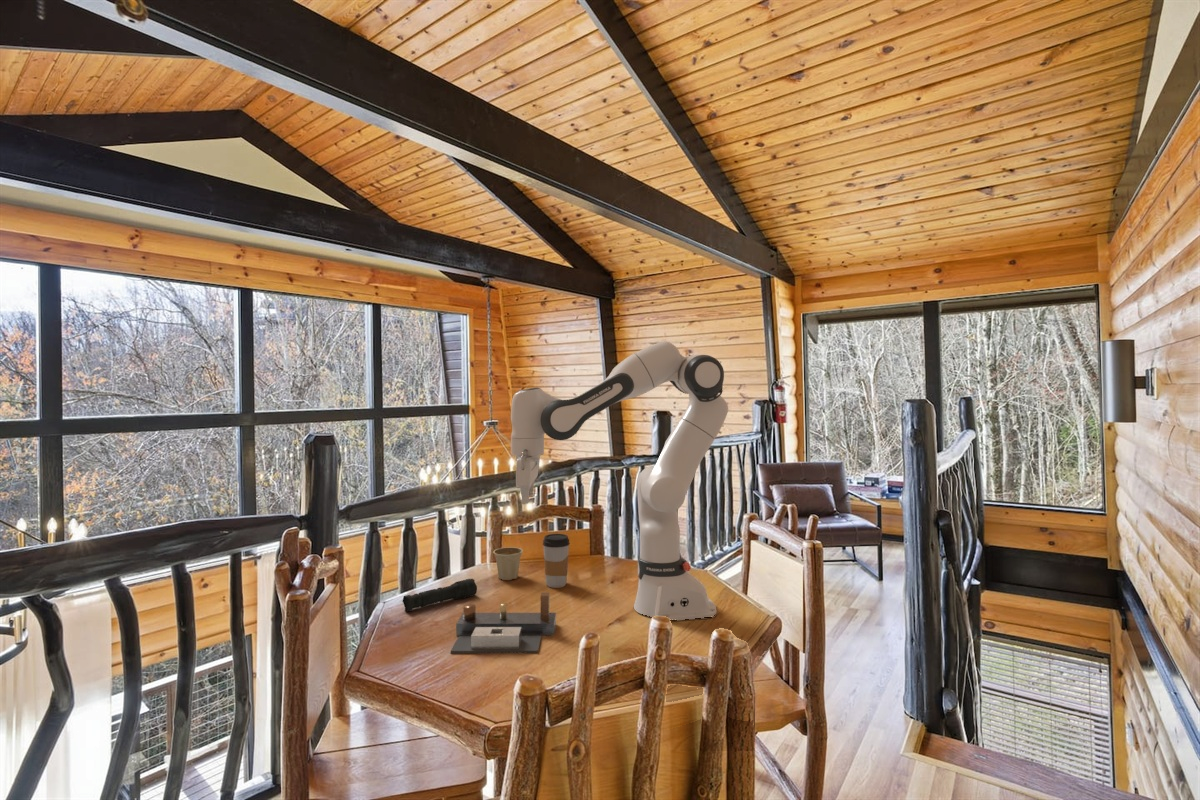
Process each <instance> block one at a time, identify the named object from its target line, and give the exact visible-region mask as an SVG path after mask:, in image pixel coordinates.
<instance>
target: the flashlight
mask: <svg viewBox="0 0 1200 800" xmlns="http://www.w3.org/2000/svg"><path fill="white" fill-rule="evenodd" d="M477 592H478V586H477V584H476V581H475V579H474V578H467V579H463V580H458V581H455V582H454V583H452V584H450V585H448V586H444V587H437V588H434V589H433V588H432V589H429V590H424V591H421V592H418V593H414V594H412V595H411V594H407V595H404V596H403V599H402V603H403V605H404V612H406V613H407V612H410V611H412V610H414V609H419V608H424V607H426V606H430V605H433V604H438V603H443V602H445V601H448V600H459V599H458V598H462V599H464V597H466V598H469V597H468V596H470V597H473V596H475V595H476V594H477ZM472 595H473V596H472Z"/></svg>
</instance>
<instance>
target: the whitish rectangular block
mask: <svg viewBox="0 0 1200 800" xmlns="http://www.w3.org/2000/svg"><path fill="white" fill-rule="evenodd" d="M521 640H522V627H475V629H474V631H473V633H472V635H471V649H519V646H520V643H521Z"/></svg>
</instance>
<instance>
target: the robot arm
mask: <svg viewBox="0 0 1200 800" xmlns="http://www.w3.org/2000/svg"><path fill="white" fill-rule="evenodd" d="M724 380H725V370H724V367H723V365H722V364H721V362H720V361H719V360H718V359H717V358H715V356H714V357H713V356H712V355H708V354H693V355H691V356H683V355H682V354H681V351H679V349H678V348H677V347H676V346H675V345H674V343H672V342H669V341H660V342H657V343H655V344H652V345H649V346H646V347H644V348H642V349H639V350H638V351H636V352H634V353H632V354H631V355H629V356H628V357H625V359H623V360H622V361H620V362H619V363H618V364H617V365H615V366H614V368H612V370H611V372H610V373H609V375H608V376H607V377H606V378H605V379H604V380H602V381H601V382H600V383H599V384H597V385H595V386H594V387H591V388H590V389H588V390H586V391H585V392H583V393H581V394H579V395H578V396H576V397H573V398H569V399H560V398H558V397H555V396H553V395H551V394H549V393H547V392H546V391H544V390H543V389H542V388H541V387H530V388H525V389H520V390H517V391H516V392H515V393H514V394H513V396H512V400H511V407H510V408H511V409H510V423H511V427H512V430H511V434H510V455H512V456H514V457H515V461H516V466H515V467H516V468H515V487H516V488H517V489H520V496H521V504H528V503H529V502H530V498H531V497H533V496H534V487H535V486H534V485H535V480H537V478H538V475H539V471H540V462H541V460H540V459H541V456H544V455H545V435H546V436H548V437H549V438H551V439H552V440H555V441H565V440H568V439H570V438H572V437H574V436H575V435H576V434H577V433H578V432H579V430H580V429H581V427H582V426H583V425H584V424H585V423H586V421H588V420H589V419H591V418H592V417H594V416H595V415H597V414H598V413H600V412H602V411H604V410H605V409H608V408H610V407H611V406H612V405H615V404H616V403H619V402H623V401H626V400H630V399H634V398H637V397H639V396H642V395H644V394H647V393H649V392H650V391H652V390H654V389H655V388H657V387H659V386H660V385H663V384H664V383H667V382H670V383H671V384H672V385H673V386H674V387H675V388H676V389H677V390H678V391H679V392H681V393H683V394H686V395H688V400H689V401H688V404H687V407H686V409H685V410H684V412H683V413H682V415H681V417H680V418H679V420H678V421H677V423H676V424H675V426H674V428H673V429H672V431H671V432H670V434H669V435H668V437H667V439H666V440H665V442H664V446H663V448H662V450H661V453H660V455H659V457H658V459H657V461H656V462H655V465H654V464H653V465H649V466H647V467H645V468H644V469H642V471H641V472H640V473H639V474H638V477H637V481H636V487H637V488H636V493H637V509H638V510H637V511H638V523H639V525H638V526H639V556H638V557H637V559H638V560H637V577H638V584H637V593H636V597H635V601H634V604H633V608H634V611H636V612H637V613H638V614H640V615H642V614H643V615H642V616H645V615H647V616H646V617H649V616H650V617H649V618H652V617H653V616H666V617H668V618H670V619H671V620H672V619H673V620H675V619H676V620H677V621H685V619H689V620H696V619H695V618H701V619H705V618H704V617H711V616H714V615H715V614H716V615H717V607H716V604H715V603H714V601H712V600H711V599H710V598H709V597H708V596H709V595H708V593H707V589H706V587H705V585H704V584H703V583H702V582H701V581H700V580H699V579H698V578H697V577H695V576H694V575H693V574H692V573H690V570H691V569H692V566H691V564H690V563H689V562H688V560H686V559H685V558H684V557H682V556H681V555H680V553H681V546H680V545H681V542H680V541H681V540H680V539H681V529H680V524H679V518H678V517H679V516H678V510H679V509H680V508H681V507H682V506H683V504H684V502H685V500H686V495H687V493H688V491H689V489H690V486H691V484H692V482H693V479H694V477H695V475H696V472H697V470H698V468H699V466H700V464H701V462H702V460H703V458H704V457H705V455H706V454H707V452H708V451H709V449H710V447H711V446H712V444H713V442H714V441H715V440H716V438H717V436H718V434H719V433H720V431H721V429H722V427H723V425H724V422H725V420H726V418H727V415H728V412H729V404H728V403H727V401H726V400H725V398H723V396H722V394H723V388H724V387H723V386H724V385H723V384H724V382H725V381H724ZM716 615H715V616H716ZM715 616H714V617H715Z"/></svg>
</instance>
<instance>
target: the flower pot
mask: <svg viewBox="0 0 1200 800" xmlns="http://www.w3.org/2000/svg"><path fill="white" fill-rule="evenodd" d="M523 552H524V551H523V549H522V548H520V547H514V546H513V547H509V546H508V547H500V548H496V549H495V550H493V554H494V557H495V561H496V568H497V576H498V579H500V580H501V579H502V581H512V580H515V579H518V577H519V569H520V563H521V557H522V554H523Z"/></svg>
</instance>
